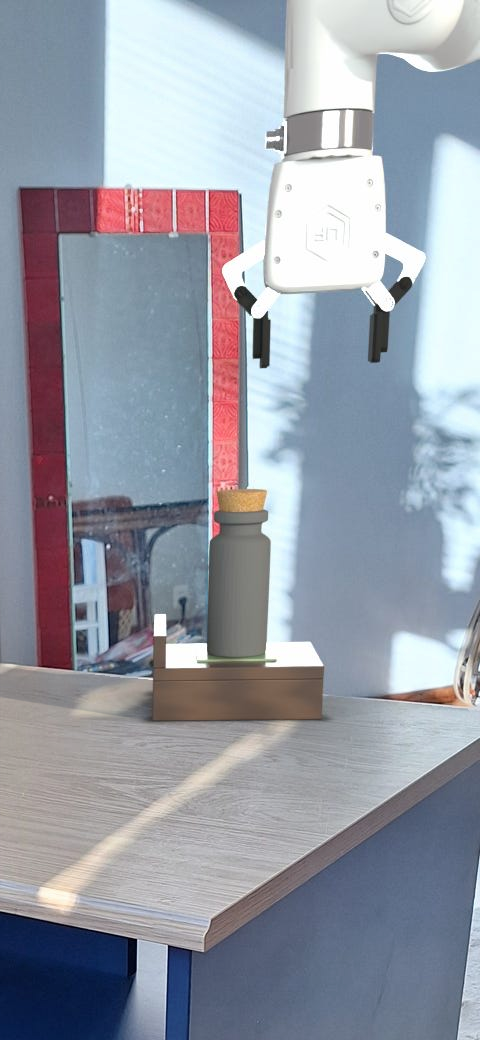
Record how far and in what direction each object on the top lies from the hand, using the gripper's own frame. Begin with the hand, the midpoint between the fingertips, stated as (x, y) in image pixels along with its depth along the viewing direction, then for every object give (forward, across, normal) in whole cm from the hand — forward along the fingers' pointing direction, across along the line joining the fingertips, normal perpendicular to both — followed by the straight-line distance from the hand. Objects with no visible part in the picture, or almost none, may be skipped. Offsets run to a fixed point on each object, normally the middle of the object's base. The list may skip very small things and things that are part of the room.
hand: (318, 365), depth 131 cm
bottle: (+26, -7, +3) cm, 27 cm away
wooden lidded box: (+31, -7, +3) cm, 32 cm away
